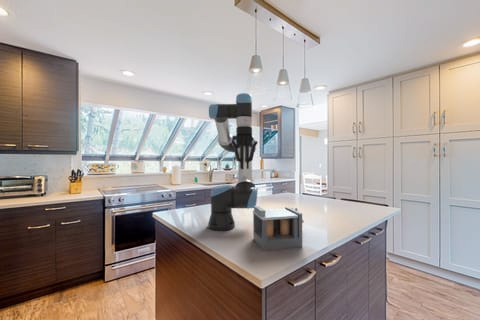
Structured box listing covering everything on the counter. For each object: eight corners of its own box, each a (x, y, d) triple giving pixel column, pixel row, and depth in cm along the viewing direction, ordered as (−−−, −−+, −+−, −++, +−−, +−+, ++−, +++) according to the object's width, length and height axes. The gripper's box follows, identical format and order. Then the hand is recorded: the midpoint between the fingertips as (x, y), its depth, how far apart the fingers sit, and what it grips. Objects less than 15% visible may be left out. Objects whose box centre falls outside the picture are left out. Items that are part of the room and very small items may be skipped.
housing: (253, 239, 104) (253, 208, 104) (287, 235, 109) (287, 206, 109) (263, 250, 91) (263, 216, 91) (302, 246, 95) (302, 213, 95)
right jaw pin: (278, 240, 102) (278, 215, 102) (287, 239, 103) (287, 214, 103) (282, 244, 98) (282, 217, 98) (291, 243, 99) (291, 216, 99)
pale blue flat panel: (252, 212, 104) (252, 205, 104) (283, 210, 108) (283, 203, 108) (262, 220, 91) (262, 212, 91) (297, 217, 95) (297, 209, 95)
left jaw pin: (262, 242, 100) (262, 216, 100) (271, 241, 101) (271, 215, 101) (265, 245, 96) (265, 218, 96) (275, 244, 97) (274, 218, 97)
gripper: (232, 125, 99) (232, 176, 99) (259, 126, 102) (259, 176, 102) (229, 127, 106) (229, 175, 107) (254, 128, 110) (255, 175, 110)
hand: (244, 175), depth 104 cm, fingers closed
